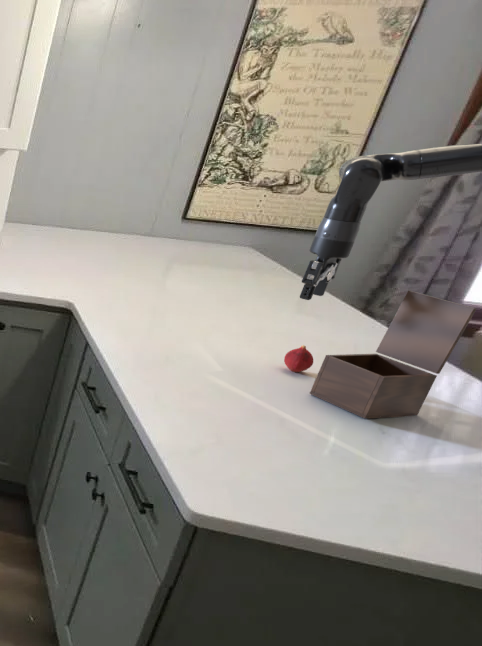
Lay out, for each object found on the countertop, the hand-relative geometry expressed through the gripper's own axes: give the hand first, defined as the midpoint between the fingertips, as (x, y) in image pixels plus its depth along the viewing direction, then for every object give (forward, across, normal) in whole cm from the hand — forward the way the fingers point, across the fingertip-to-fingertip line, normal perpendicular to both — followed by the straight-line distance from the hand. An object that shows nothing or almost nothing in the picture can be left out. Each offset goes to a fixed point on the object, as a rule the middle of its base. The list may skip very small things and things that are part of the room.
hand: (311, 297), depth 165 cm
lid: (+2, +1, -21) cm, 21 cm away
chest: (+22, -6, -18) cm, 29 cm away
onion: (+22, +2, -2) cm, 22 cm away
